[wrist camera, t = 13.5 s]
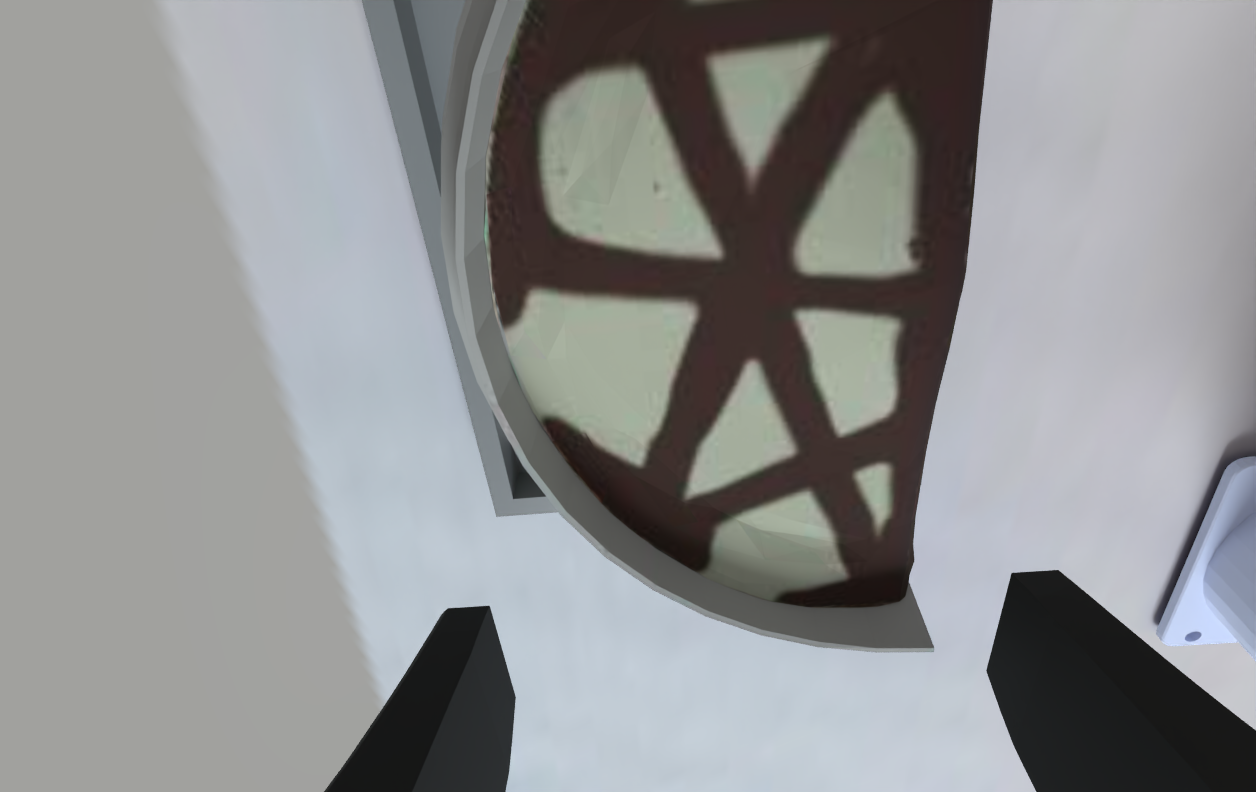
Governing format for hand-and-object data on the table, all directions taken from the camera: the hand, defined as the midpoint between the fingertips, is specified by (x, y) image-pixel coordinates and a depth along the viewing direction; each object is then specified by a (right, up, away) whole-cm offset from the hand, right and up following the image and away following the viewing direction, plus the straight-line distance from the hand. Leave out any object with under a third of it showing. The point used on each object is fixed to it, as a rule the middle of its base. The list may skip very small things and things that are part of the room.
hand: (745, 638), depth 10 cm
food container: (-1, +10, +6) cm, 11 cm away
